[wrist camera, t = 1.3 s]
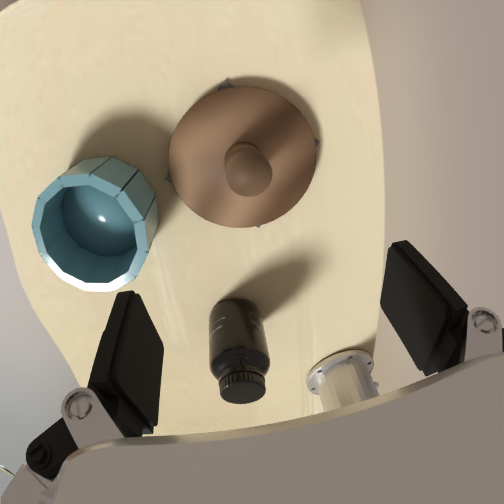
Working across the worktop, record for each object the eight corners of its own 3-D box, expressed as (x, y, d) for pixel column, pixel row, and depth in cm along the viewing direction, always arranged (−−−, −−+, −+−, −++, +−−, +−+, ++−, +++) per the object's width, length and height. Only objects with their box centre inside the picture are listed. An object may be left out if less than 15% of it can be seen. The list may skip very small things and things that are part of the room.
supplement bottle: (205, 298, 37) (206, 378, 26) (260, 294, 37) (277, 371, 27) (211, 336, 40) (214, 411, 30) (260, 331, 41) (275, 405, 31)
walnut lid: (338, 138, 28) (365, 151, 23) (262, 244, 33) (272, 276, 28) (218, 60, 23) (219, 52, 17) (145, 185, 28) (131, 208, 23)
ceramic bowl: (176, 188, 29) (169, 212, 24) (134, 274, 34) (123, 308, 28) (77, 139, 25) (49, 153, 20) (48, 232, 29) (25, 259, 24)
